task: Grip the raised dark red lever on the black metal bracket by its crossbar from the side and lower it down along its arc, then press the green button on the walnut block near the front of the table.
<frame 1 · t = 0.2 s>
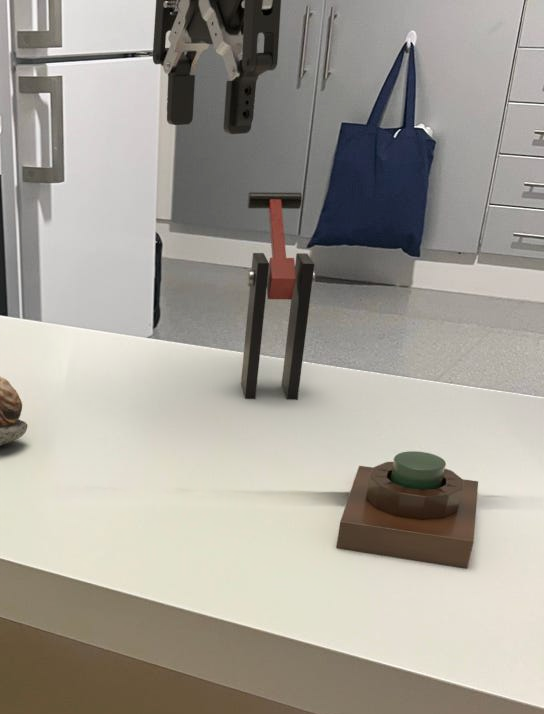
hand: (206, 128, 84), 25 cm above the table, tool pointing down, fingers open, 8 cm apart
bracket: (267, 405, 99), on the table
lever: (277, 240, 95), point 14 cm above the table, hinge at 28.0°
button: (417, 471, 74), point 4 cm above the table, slide at 0.1 cm
button block: (406, 527, 76), on the table
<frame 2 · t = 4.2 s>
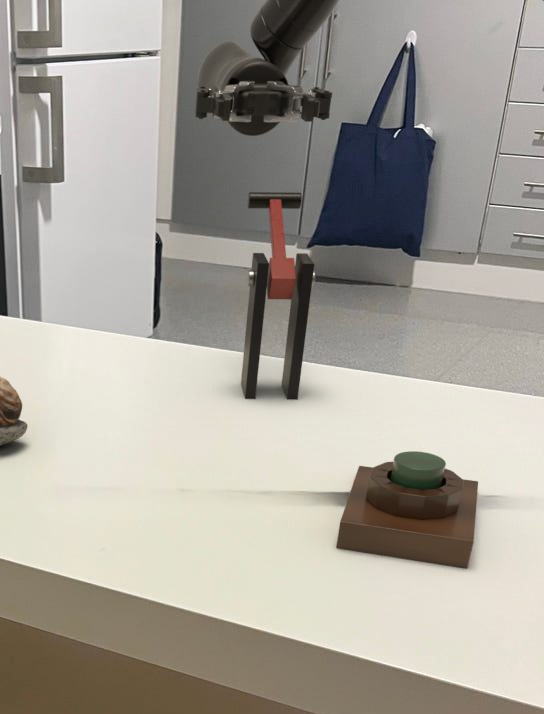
hand: (269, 109, 104), 24 cm above the table, tool horizontal, fingers open, 8 cm apart
nothing on the table moved.
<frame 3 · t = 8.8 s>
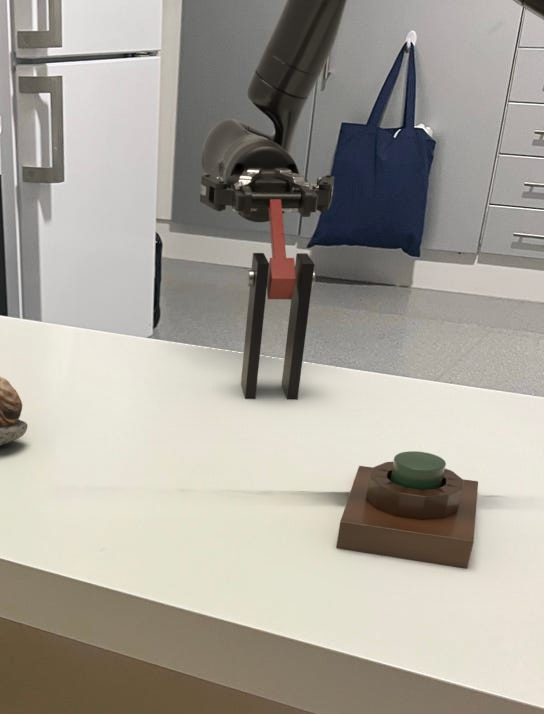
hand: (278, 205, 96), 17 cm above the table, tool horizontal, fingers closed on lever, 5 cm apart
lever: (277, 240, 95), point 14 cm above the table, hinge at 28.0°, touching gripper
everything else where it was.
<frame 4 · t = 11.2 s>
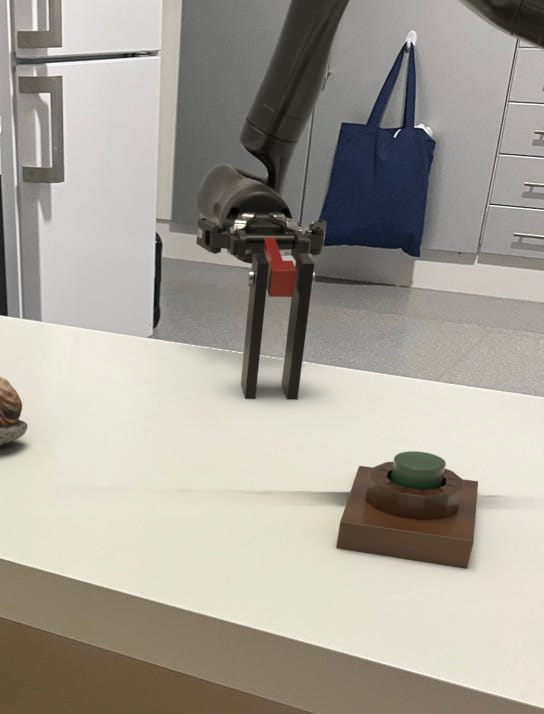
hand: (271, 249, 99), 13 cm above the table, tool horizontal, fingers closed on lever, 5 cm apart
lever: (274, 260, 97), point 13 cm above the table, hinge at 5.9°, touching gripper
everything else where it was.
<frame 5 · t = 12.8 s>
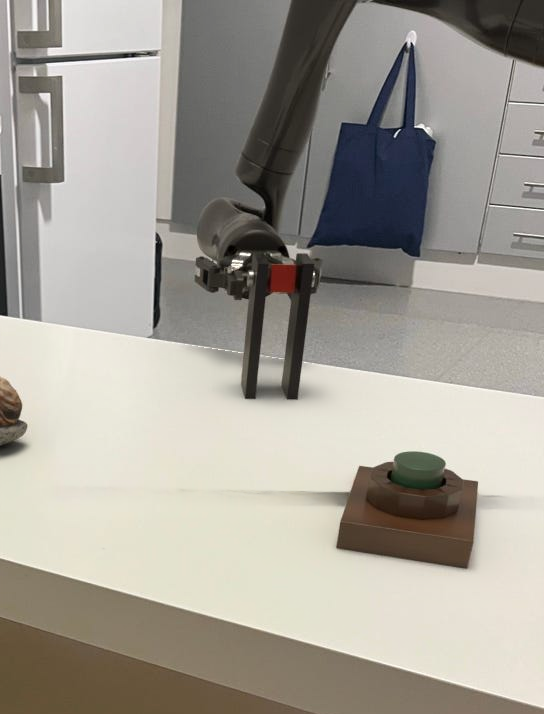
hand: (268, 290, 101), 9 cm above the table, tool horizontal, fingers closed on lever, 5 cm apart
lever: (273, 279, 98), point 11 cm above the table, hinge at -13.0°, touching gripper
everything else where it was.
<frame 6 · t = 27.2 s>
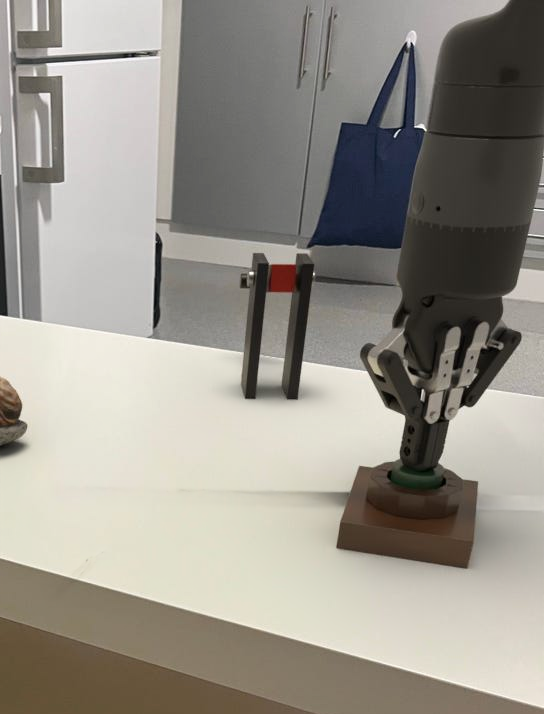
hand: (418, 466, 74), 5 cm above the table, tool pointing down, fingers closed
lever: (273, 279, 98), point 11 cm above the table, hinge at -13.9°
button: (416, 477, 74), point 4 cm above the table, slide at -0.4 cm, touching gripper
everything else where it was.
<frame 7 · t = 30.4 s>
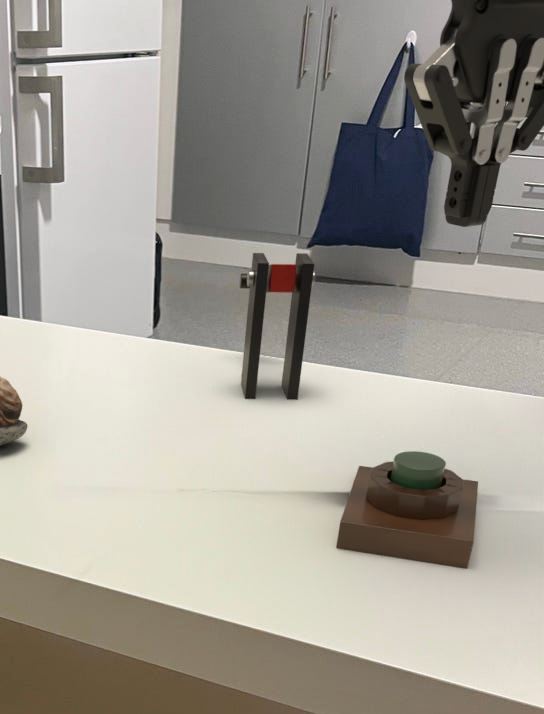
hand: (464, 223, 67), 21 cm above the table, tool pointing down, fingers closed
button: (417, 471, 74), point 4 cm above the table, slide at 0.1 cm
everything else where it was.
at the end: lever at -14° (first picture: +28°); button pushed in 1.0 cm at the most during the clip, back to where it started at the end; button slide at 0.1 cm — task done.
